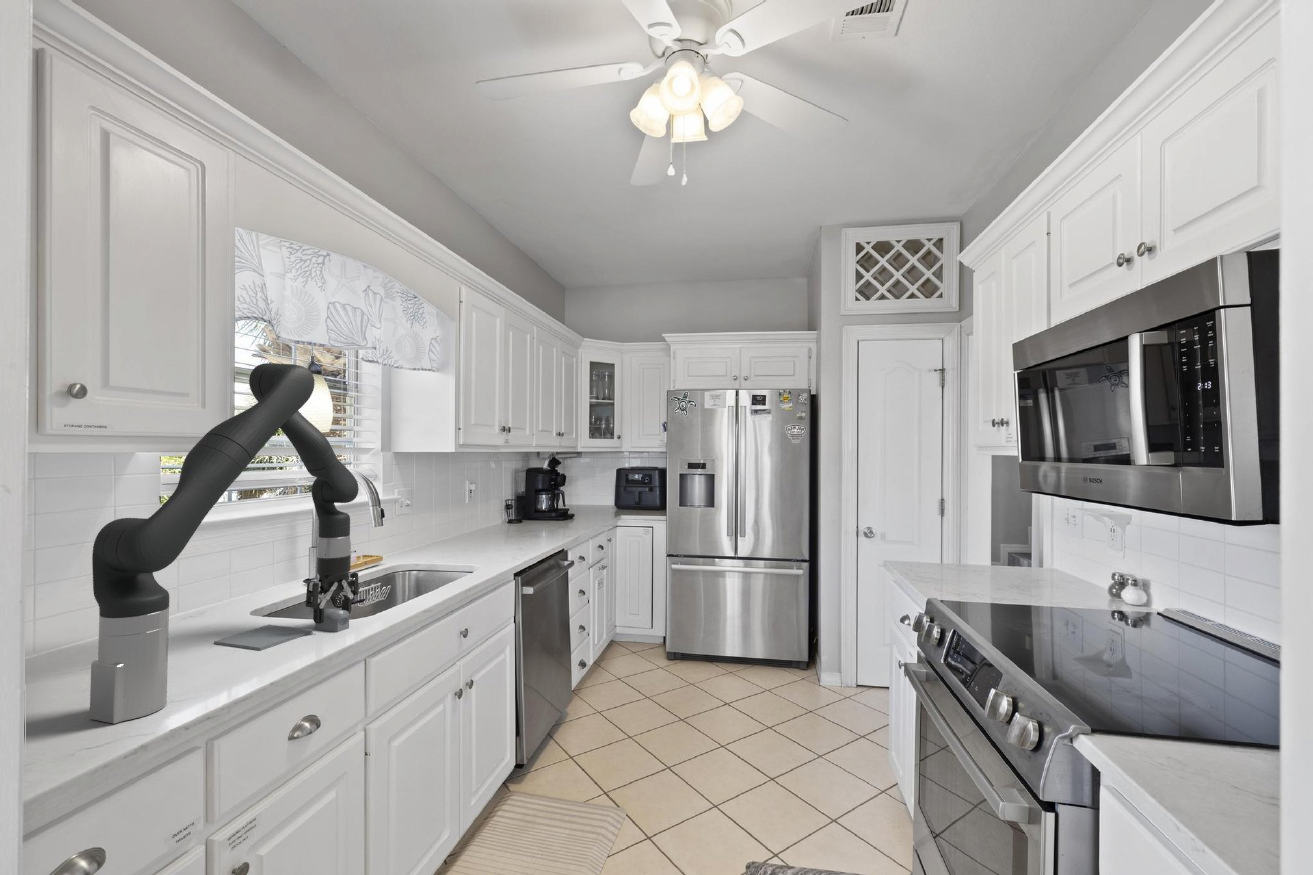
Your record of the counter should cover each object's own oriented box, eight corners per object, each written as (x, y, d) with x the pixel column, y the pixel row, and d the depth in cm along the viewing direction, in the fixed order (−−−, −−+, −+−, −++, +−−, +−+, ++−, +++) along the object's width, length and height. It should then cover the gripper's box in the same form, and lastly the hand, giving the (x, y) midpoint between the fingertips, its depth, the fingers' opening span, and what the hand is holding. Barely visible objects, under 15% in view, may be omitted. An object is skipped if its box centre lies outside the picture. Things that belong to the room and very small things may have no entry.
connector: (337, 632, 149) (338, 612, 149) (311, 629, 152) (311, 609, 152) (348, 628, 153) (349, 608, 153) (323, 625, 155) (323, 606, 155)
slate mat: (260, 650, 135) (260, 647, 135) (214, 643, 139) (214, 641, 139) (312, 632, 149) (312, 630, 149) (268, 626, 153) (268, 624, 153)
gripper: (322, 560, 144) (321, 628, 144) (367, 550, 158) (366, 612, 158) (298, 558, 147) (297, 625, 146) (344, 548, 160) (343, 609, 160)
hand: (332, 618), depth 152 cm, fingers open, 8 cm apart
